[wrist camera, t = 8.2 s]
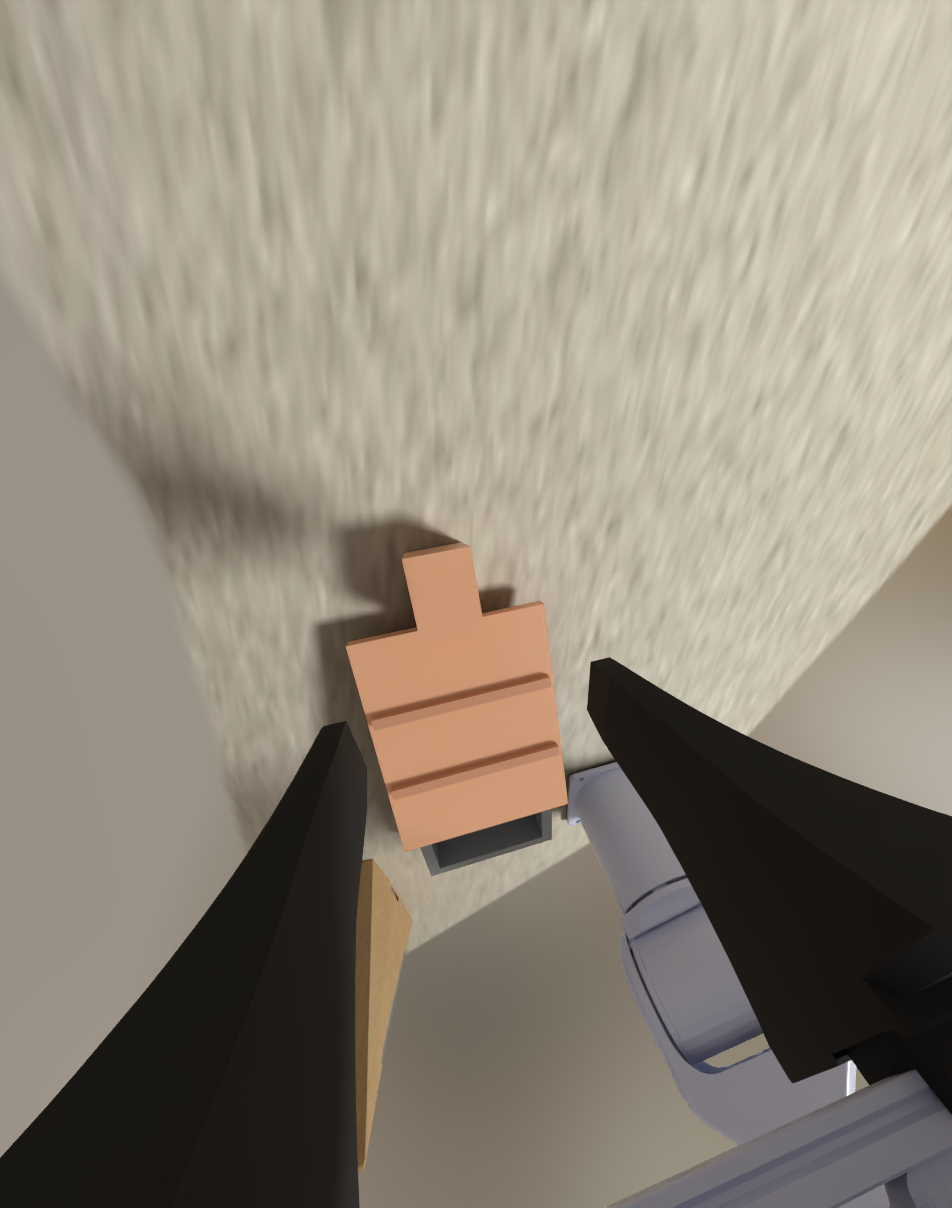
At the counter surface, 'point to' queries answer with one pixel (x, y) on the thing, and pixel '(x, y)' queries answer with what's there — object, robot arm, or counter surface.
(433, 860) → the tub
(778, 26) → the counter surface
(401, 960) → the sandwich container
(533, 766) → the lid
